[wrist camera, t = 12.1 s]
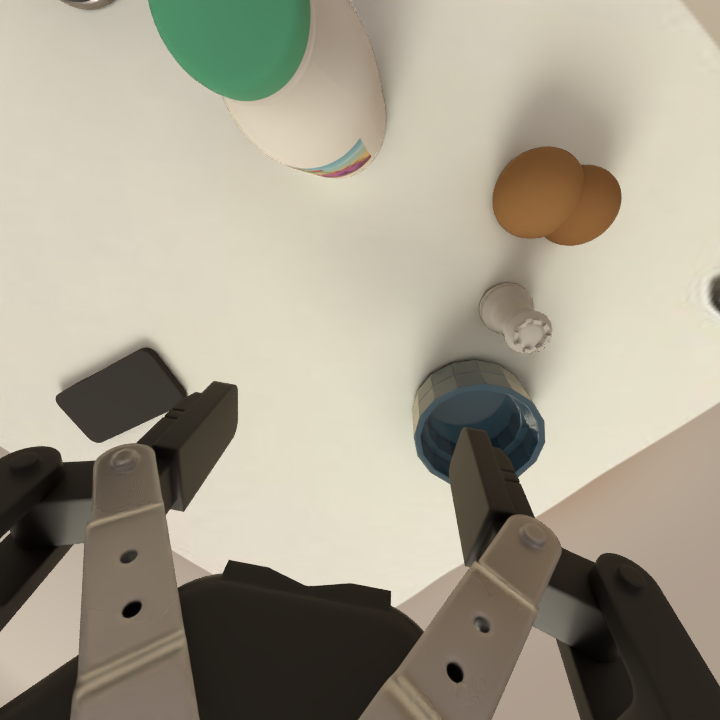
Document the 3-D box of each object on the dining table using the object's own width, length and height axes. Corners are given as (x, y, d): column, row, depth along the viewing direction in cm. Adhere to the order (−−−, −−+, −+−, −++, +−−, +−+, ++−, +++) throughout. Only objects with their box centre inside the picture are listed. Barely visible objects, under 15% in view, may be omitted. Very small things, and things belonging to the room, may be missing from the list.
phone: (188, 402, 40) (95, 445, 44) (192, 399, 40) (100, 441, 44) (144, 346, 37) (50, 397, 41) (149, 343, 38) (57, 394, 42)
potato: (499, 145, 27) (522, 132, 22) (614, 166, 27) (666, 158, 22) (475, 227, 30) (491, 233, 25) (580, 247, 30) (620, 258, 24)
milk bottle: (307, 43, 26) (92, -306, 8) (403, 89, 27) (405, -140, 9) (277, 155, 29) (76, 87, 11) (363, 195, 30) (303, 190, 12)
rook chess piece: (538, 289, 31) (579, 316, 24) (516, 335, 33) (547, 373, 26) (489, 275, 31) (515, 298, 24) (470, 321, 33) (488, 356, 26)
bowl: (428, 347, 35) (432, 372, 30) (542, 370, 34) (566, 399, 30) (403, 439, 40) (403, 474, 35) (503, 460, 39) (518, 498, 34)
